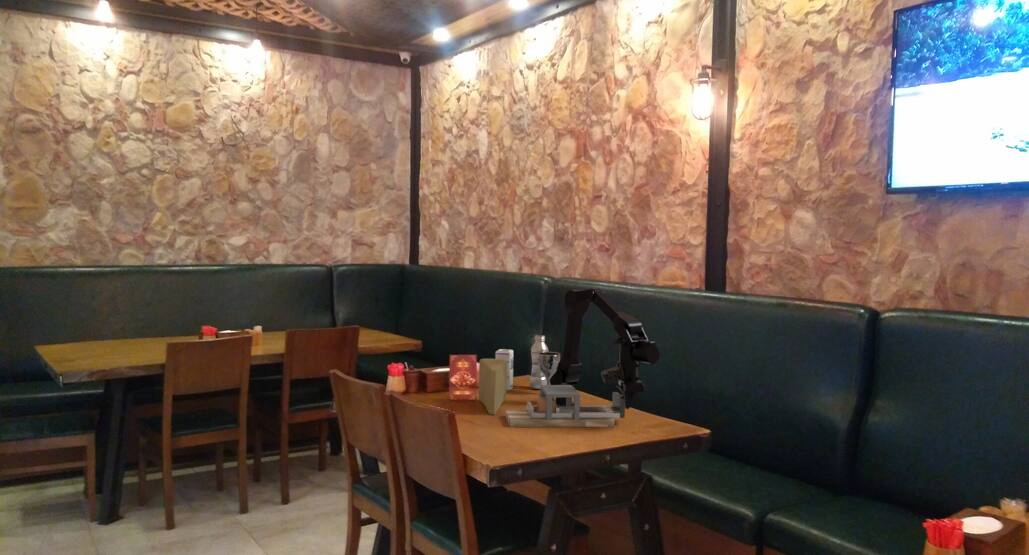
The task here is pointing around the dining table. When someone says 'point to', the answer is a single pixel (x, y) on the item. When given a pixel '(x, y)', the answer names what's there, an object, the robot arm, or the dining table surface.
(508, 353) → the syrup box
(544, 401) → the block
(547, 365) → the wine glass
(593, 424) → the cream flat frame
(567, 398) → the tunnel
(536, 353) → the plastic bottle
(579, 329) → the robot arm
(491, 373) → the cheese
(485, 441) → the dining table surface
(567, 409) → the frame
